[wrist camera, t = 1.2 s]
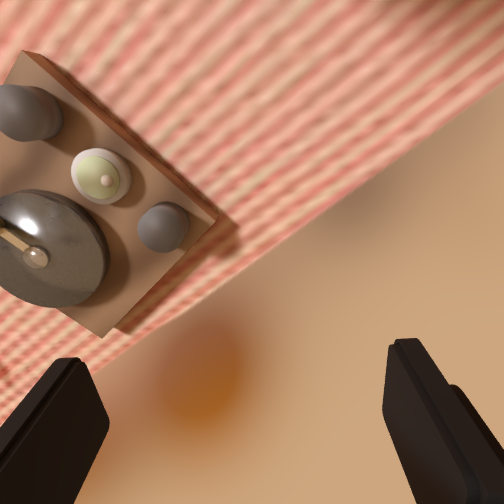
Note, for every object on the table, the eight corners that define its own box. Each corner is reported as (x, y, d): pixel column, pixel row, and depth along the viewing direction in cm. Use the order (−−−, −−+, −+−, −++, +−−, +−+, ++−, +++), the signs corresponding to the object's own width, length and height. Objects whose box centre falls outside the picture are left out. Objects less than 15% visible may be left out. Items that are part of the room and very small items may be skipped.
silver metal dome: (-31, 248, 35) (-86, 274, 29) (22, 161, 31) (-30, 173, 25) (72, 316, 38) (40, 351, 33) (133, 247, 34) (108, 274, 29)
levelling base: (-51, 216, 36) (-101, 234, 31) (40, 54, 29) (-6, 43, 24) (110, 326, 42) (90, 355, 37) (218, 213, 35) (211, 231, 30)
